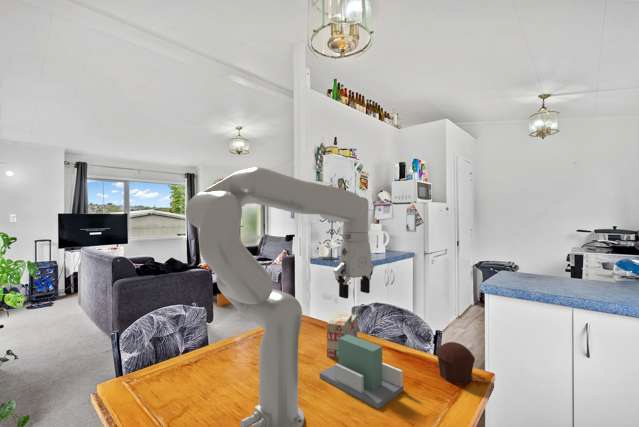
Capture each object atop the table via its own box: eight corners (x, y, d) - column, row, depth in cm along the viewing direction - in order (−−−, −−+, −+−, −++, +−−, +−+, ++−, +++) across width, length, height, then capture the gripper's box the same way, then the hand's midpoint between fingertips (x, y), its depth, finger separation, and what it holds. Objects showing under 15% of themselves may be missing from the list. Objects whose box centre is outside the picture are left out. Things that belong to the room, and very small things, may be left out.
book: (372, 390, 88) (372, 351, 88) (338, 373, 97) (338, 338, 97) (382, 384, 91) (382, 346, 91) (347, 368, 101) (348, 334, 101)
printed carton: (342, 335, 133) (342, 306, 133) (357, 337, 130) (357, 307, 130) (326, 357, 112) (326, 322, 112) (343, 359, 110) (343, 324, 110)
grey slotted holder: (378, 409, 82) (378, 386, 82) (319, 377, 98) (319, 358, 98) (403, 390, 91) (403, 369, 91) (345, 364, 107) (345, 346, 107)
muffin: (481, 387, 93) (481, 353, 93) (443, 386, 93) (443, 352, 93) (465, 368, 104) (465, 337, 105) (431, 367, 105) (431, 337, 105)
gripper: (345, 239, 86) (344, 302, 86) (382, 237, 98) (382, 292, 98) (326, 238, 92) (325, 297, 91) (363, 236, 103) (363, 288, 103)
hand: (354, 294), depth 95 cm, fingers open, 9 cm apart
